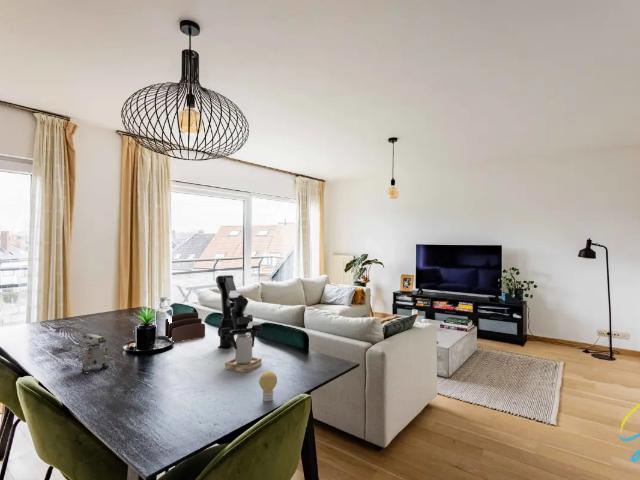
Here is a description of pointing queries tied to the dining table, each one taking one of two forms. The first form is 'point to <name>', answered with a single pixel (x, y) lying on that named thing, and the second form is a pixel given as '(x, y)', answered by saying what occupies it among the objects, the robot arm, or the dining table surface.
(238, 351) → the can
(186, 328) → the letter holder
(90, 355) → the figurine
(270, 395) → the light bulb
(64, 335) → the dining table surface
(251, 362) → the wooden tray
